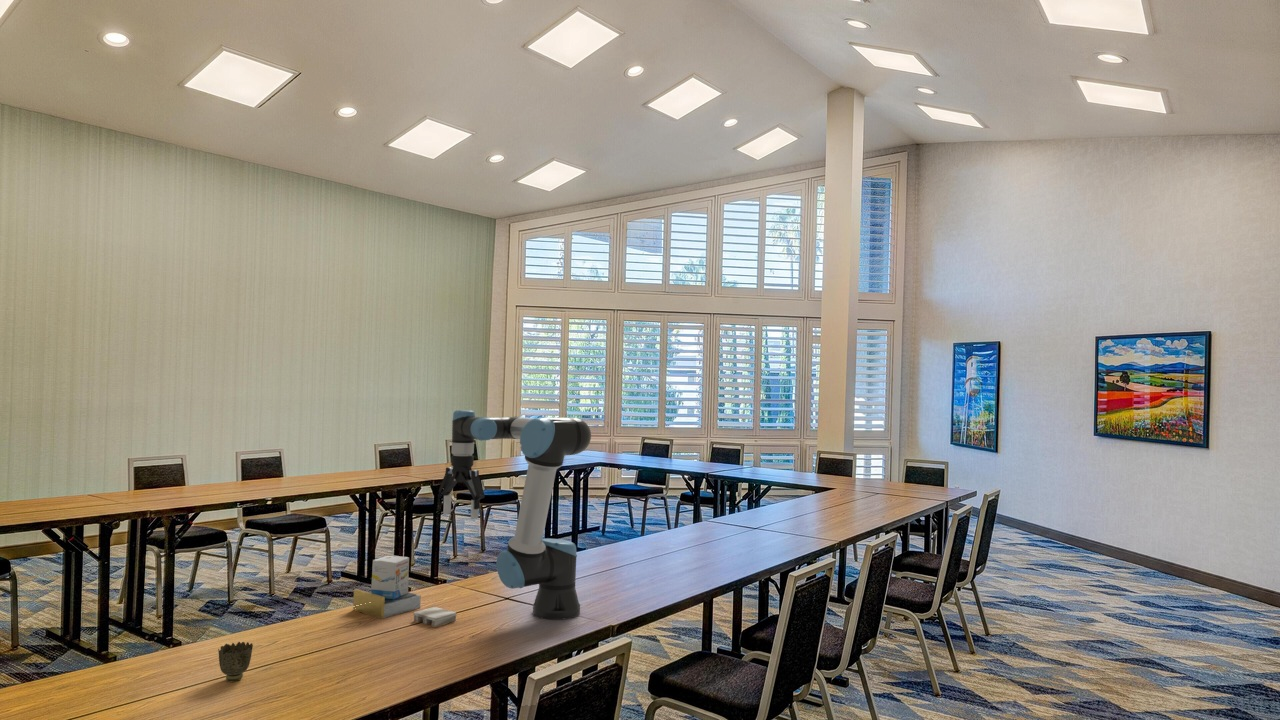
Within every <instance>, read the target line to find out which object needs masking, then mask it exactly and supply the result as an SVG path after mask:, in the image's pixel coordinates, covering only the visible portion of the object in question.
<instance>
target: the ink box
mask: <svg viewBox="0 0 1280 720" xmlns="http://www.w3.org/2000/svg"><path fill="white" fill-rule="evenodd" d="M371 569H372V571H371V588H370V589H371V590H370V593H372V594H376V595H380V596H383V597H385V599H396V598H398V597H400V596H402V595H404V594H407V593H408V592H409V572H410V571H409V569H410V557H408V556H399V555H386V556H385V555H384V556H383V557H379V558H375V559H372V567H371Z"/></svg>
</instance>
